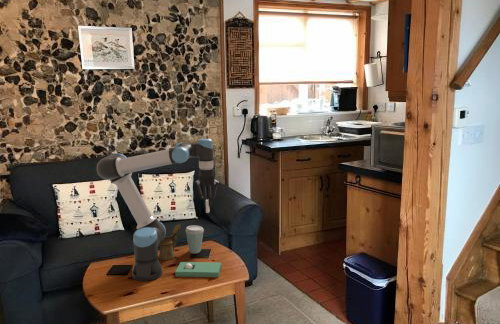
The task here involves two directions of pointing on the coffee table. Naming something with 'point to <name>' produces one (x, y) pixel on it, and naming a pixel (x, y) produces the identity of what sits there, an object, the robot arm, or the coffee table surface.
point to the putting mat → (199, 269)
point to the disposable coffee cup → (194, 238)
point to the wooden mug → (169, 245)
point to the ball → (188, 266)
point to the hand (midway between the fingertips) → (207, 212)
